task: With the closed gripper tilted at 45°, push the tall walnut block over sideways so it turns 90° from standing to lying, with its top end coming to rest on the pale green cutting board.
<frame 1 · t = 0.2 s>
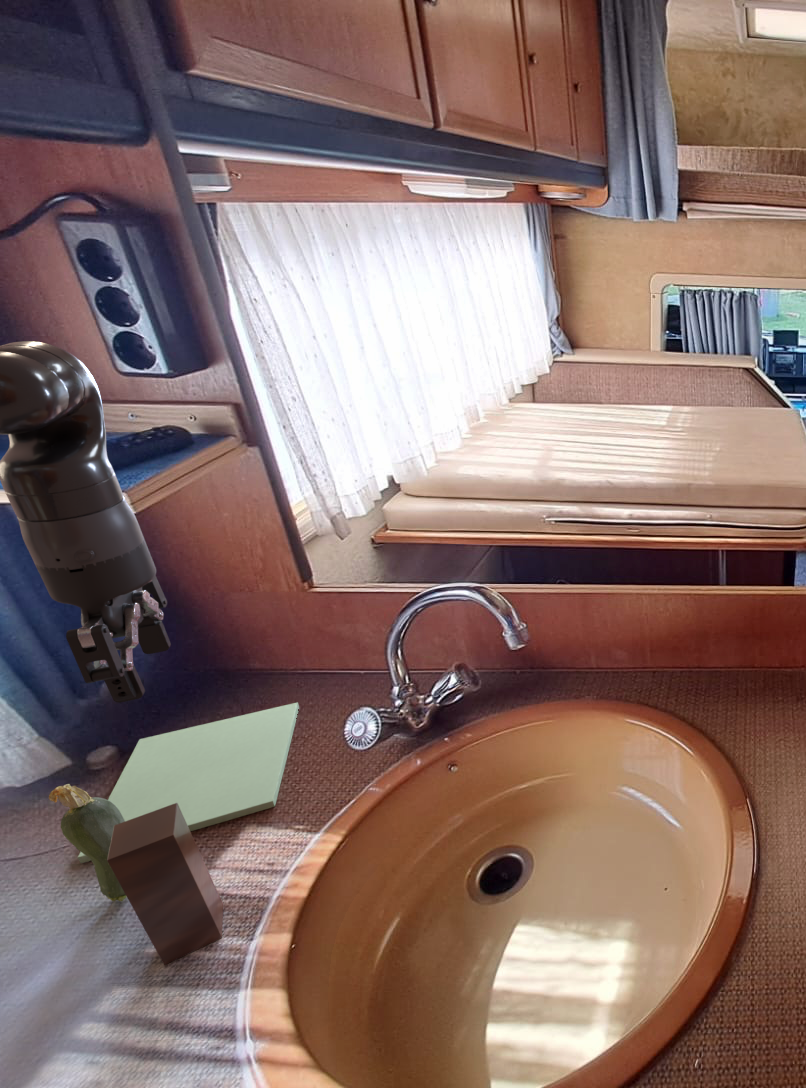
hand: (145, 673, 68), 33 cm above the countertop, tool pointing down, fingers open, 8 cm apart
cutting board: (205, 774, 94), on the countertop
vegetable: (132, 896, 77), on the countertop
walnut block: (195, 933, 74), on the countertop
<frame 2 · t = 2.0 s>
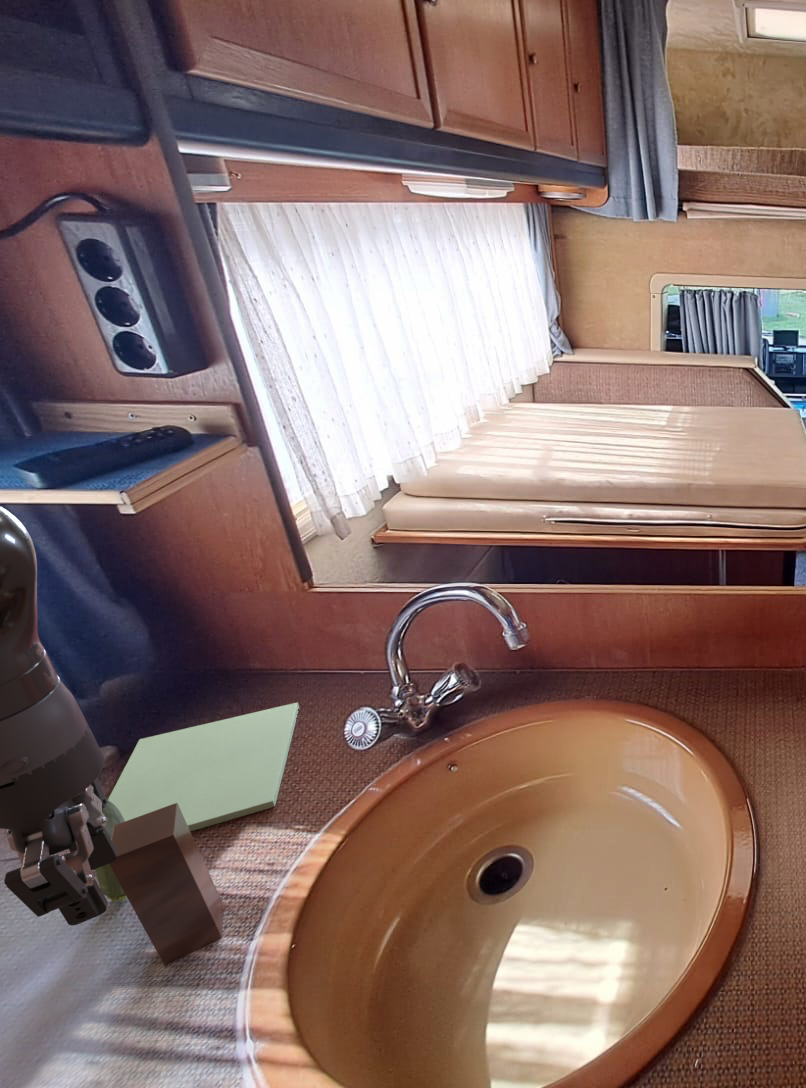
hand: (95, 888, 54), 25 cm above the countertop, tool pointing down, fingers open, 5 cm apart
nothing on the countertop moved.
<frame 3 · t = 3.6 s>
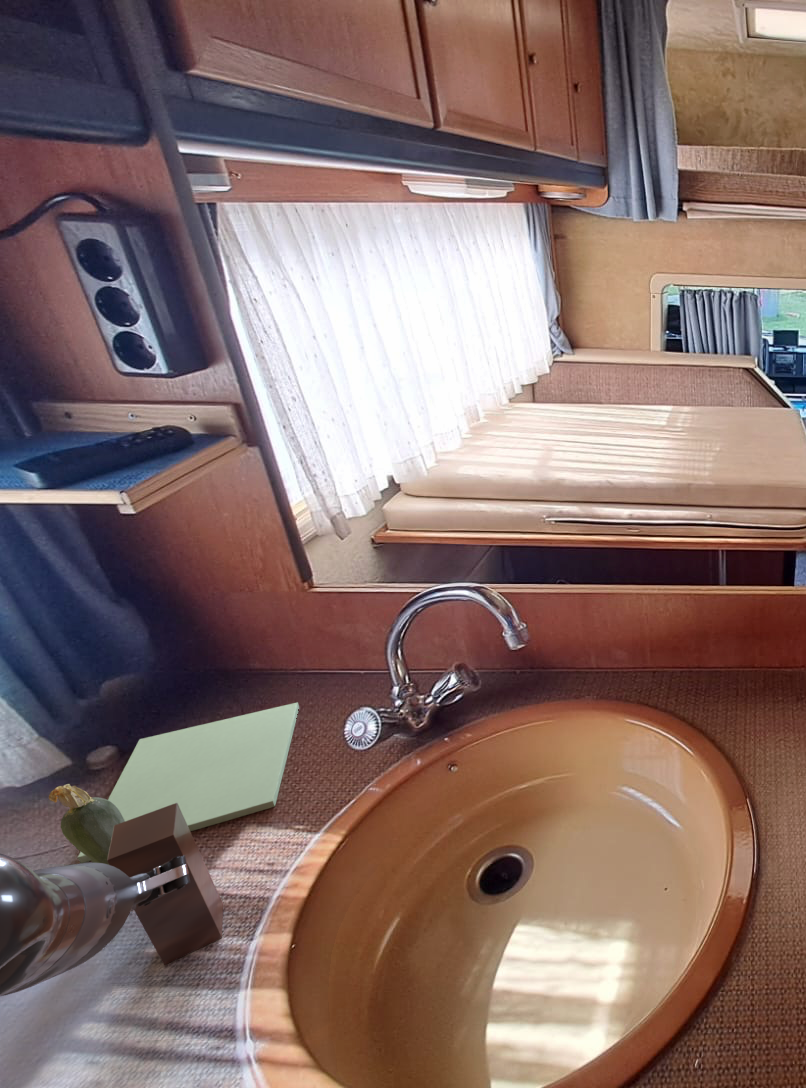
hand: (123, 901, 58), 20 cm above the countertop, tool tilted 45°, fingers closed
nothing on the countertop moved.
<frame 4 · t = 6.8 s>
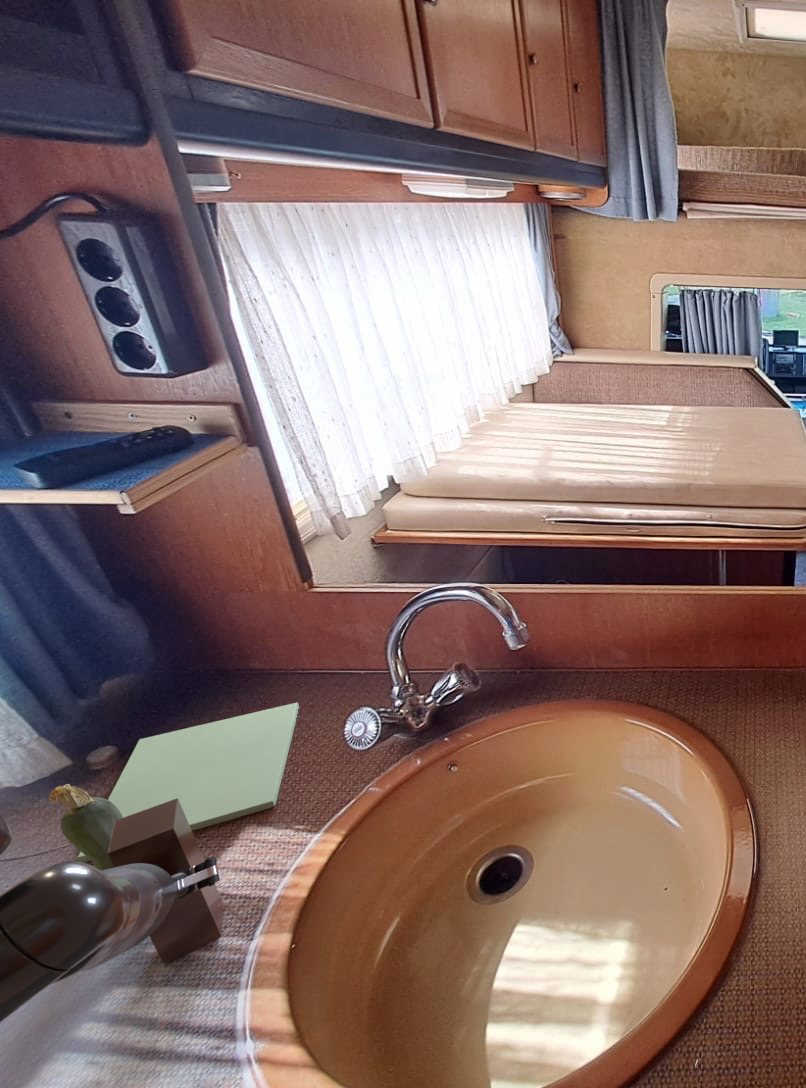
hand: (161, 893, 68), 11 cm above the countertop, tool tilted 45°, fingers closed
nothing on the countertop moved.
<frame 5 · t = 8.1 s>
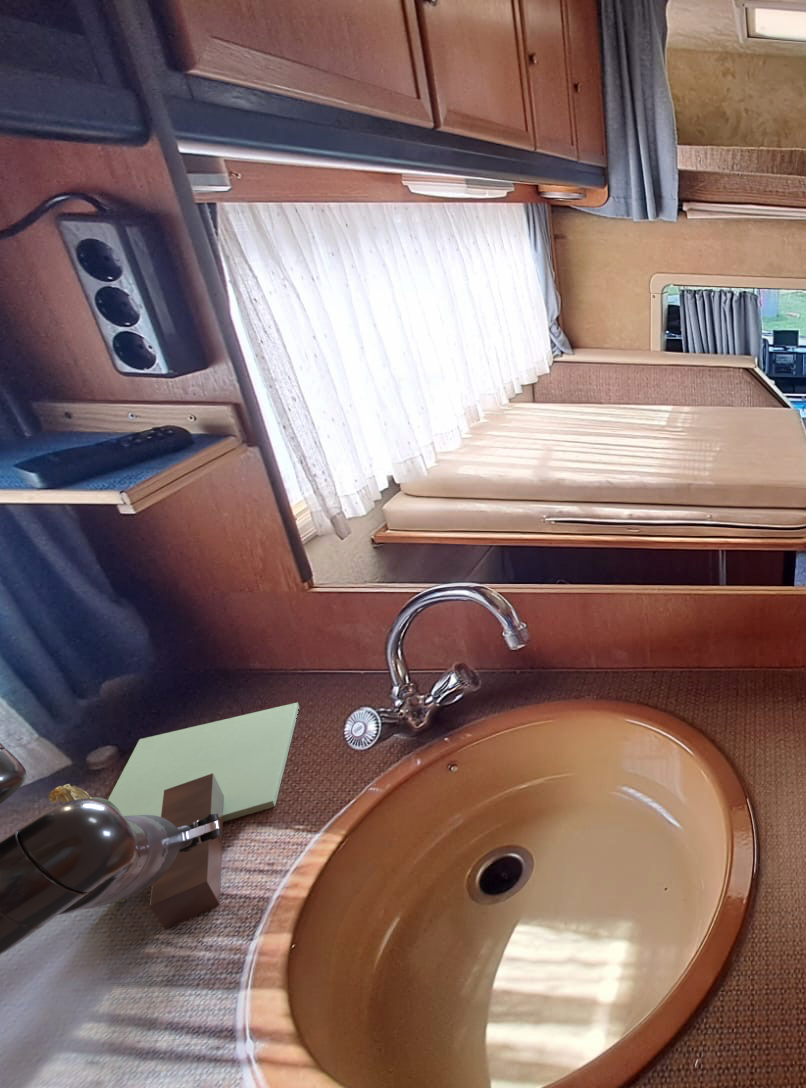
hand: (166, 848, 72), 11 cm above the countertop, tool tilted 45°, fingers closed
walnut block: (186, 905, 74), point 3 cm above the countertop, tilted 85°, touching cutting board
everything else where it was.
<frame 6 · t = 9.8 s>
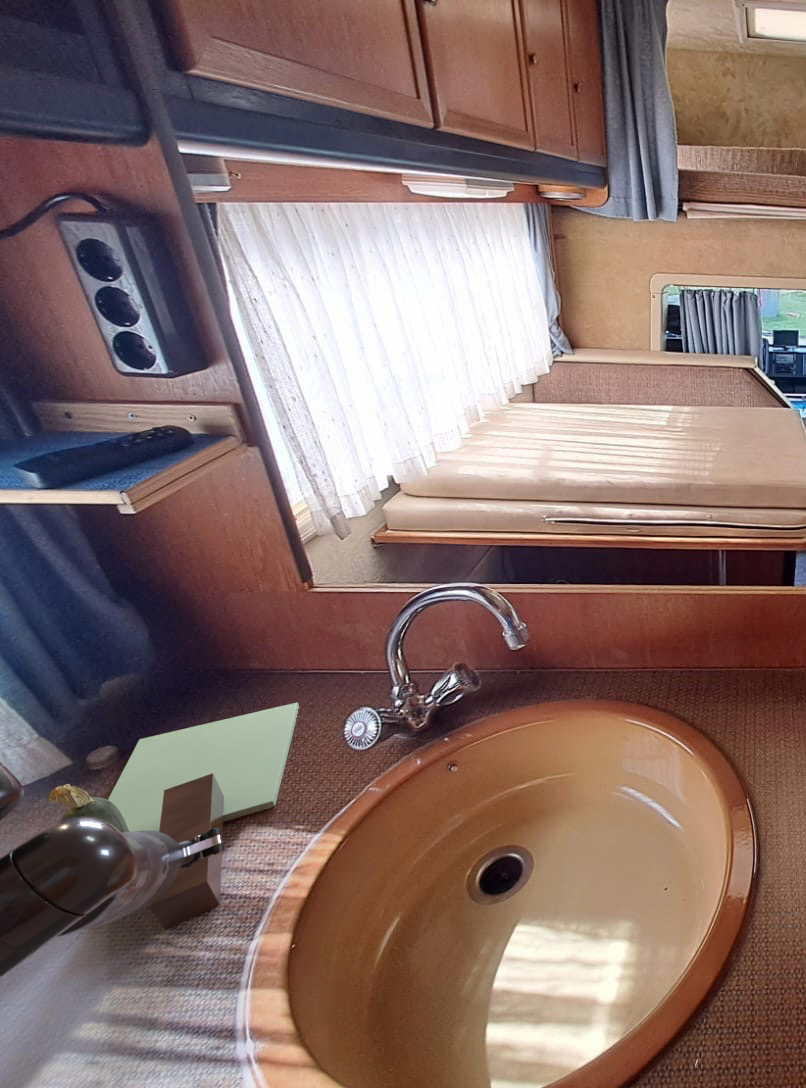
hand: (167, 864, 70), 11 cm above the countertop, tool tilted 45°, fingers closed
nothing on the countertop moved.
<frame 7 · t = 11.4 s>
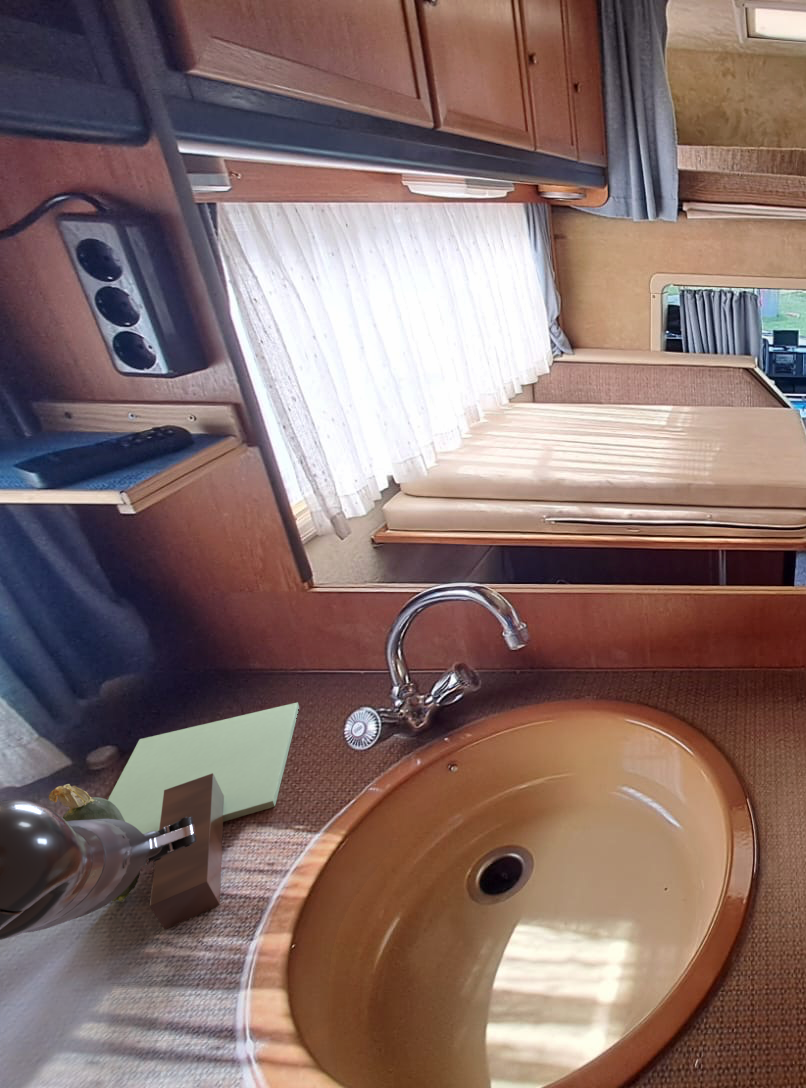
hand: (134, 857, 63), 19 cm above the countertop, tool tilted 45°, fingers closed
nothing on the countertop moved.
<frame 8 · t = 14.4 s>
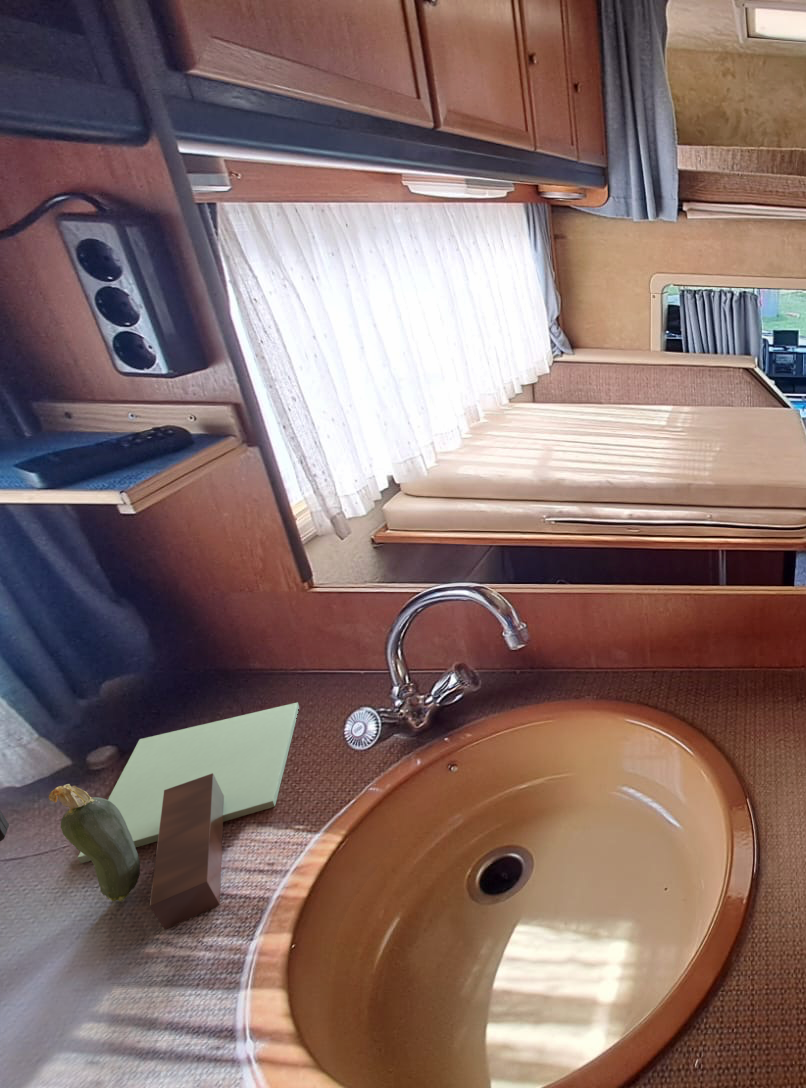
nothing on the countertop moved.
at the end: walnut block tilted 85°; walnut block touching cutting board, countertop; walnut block moved 3.5 cm from its start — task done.
